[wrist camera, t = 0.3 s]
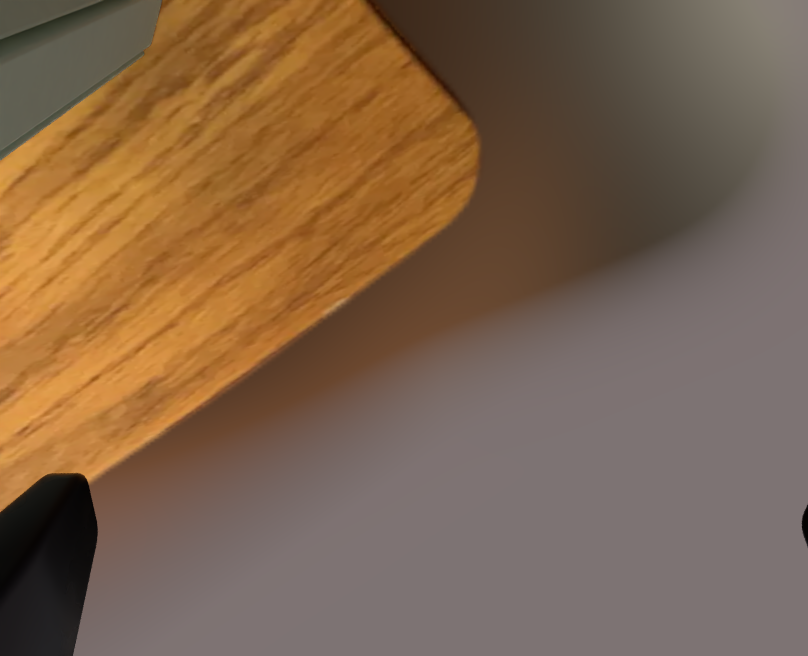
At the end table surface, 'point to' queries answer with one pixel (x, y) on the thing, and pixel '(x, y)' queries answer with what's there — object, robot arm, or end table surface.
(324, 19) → the end table surface
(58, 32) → the sleeve
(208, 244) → the end table surface
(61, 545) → the robot arm
